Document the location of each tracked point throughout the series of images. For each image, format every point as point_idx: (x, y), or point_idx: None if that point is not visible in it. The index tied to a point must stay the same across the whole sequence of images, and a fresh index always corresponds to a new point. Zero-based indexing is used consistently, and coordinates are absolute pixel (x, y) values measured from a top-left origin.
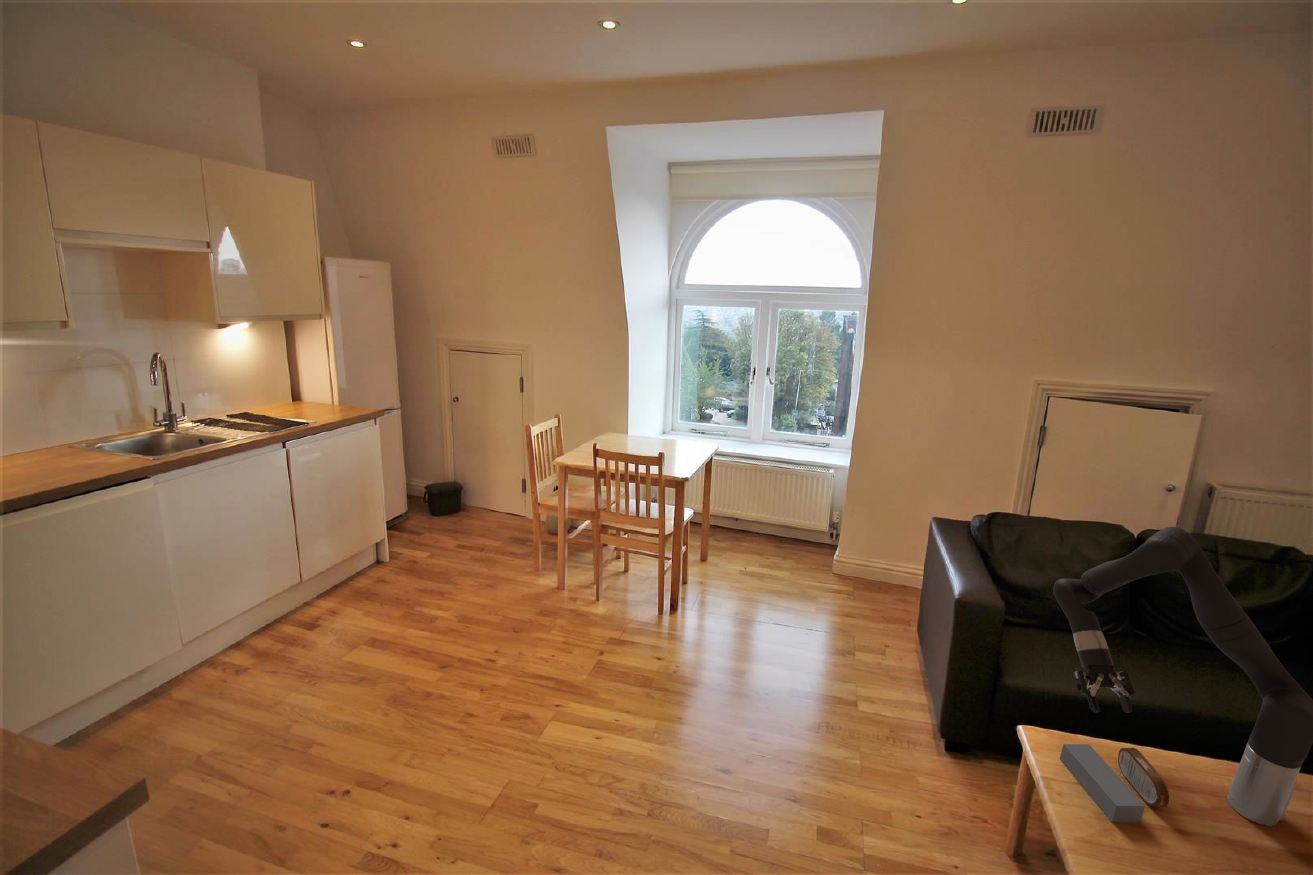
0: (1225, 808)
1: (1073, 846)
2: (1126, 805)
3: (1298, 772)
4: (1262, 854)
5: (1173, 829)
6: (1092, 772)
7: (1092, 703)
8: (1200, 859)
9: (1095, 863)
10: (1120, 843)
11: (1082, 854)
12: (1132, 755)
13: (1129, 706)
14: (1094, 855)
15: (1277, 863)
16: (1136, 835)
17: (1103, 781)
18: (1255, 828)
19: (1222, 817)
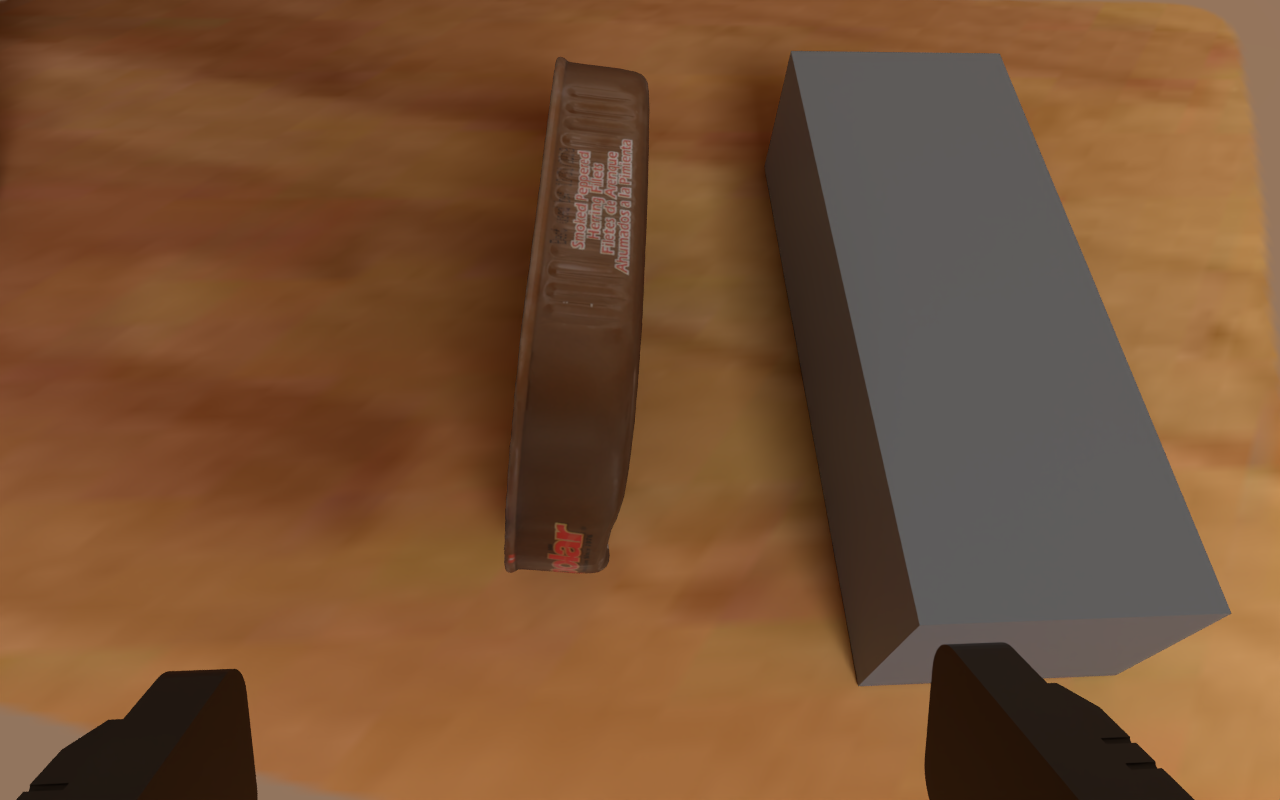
0: (39, 249)
1: (1221, 64)
2: (925, 56)
3: None
4: (197, 22)
5: None
6: (1052, 282)
7: (1143, 770)
8: (584, 9)
9: (1138, 4)
10: None
11: (1187, 35)
12: (639, 292)
13: (139, 731)
14: (1129, 31)
15: None
16: None
17: (996, 208)
18: (20, 134)
19: (155, 193)
